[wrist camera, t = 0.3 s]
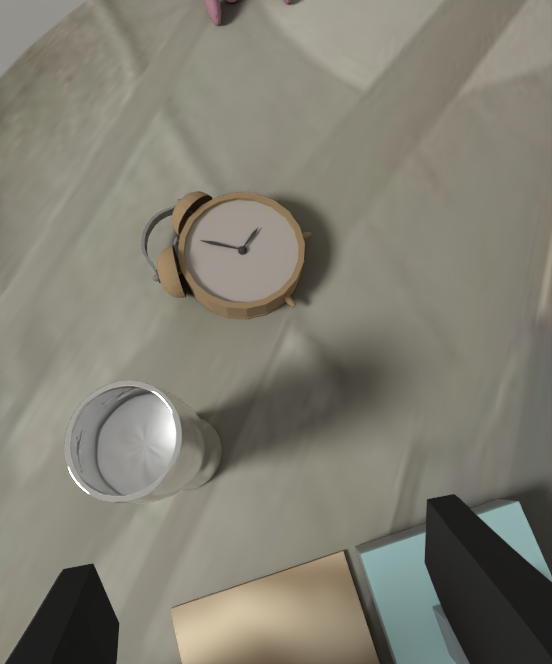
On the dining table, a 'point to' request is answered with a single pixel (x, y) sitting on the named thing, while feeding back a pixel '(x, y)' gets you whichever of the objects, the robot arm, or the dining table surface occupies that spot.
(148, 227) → the alarm clock
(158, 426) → the beer glass
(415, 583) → the lid
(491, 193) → the dining table surface
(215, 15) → the video game controller
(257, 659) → the cork pad
